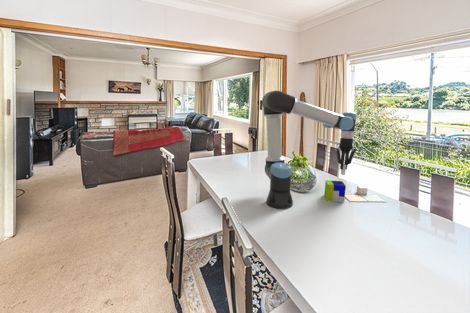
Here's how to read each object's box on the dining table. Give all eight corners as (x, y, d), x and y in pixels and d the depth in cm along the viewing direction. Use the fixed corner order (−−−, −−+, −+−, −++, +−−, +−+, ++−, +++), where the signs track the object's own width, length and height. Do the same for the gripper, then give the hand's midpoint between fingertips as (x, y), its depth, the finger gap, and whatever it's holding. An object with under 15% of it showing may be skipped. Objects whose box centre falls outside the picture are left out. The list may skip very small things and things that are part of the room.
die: (359, 194, 164) (360, 188, 164) (356, 192, 169) (357, 185, 168) (366, 194, 164) (367, 188, 163) (363, 192, 169) (364, 185, 168)
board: (349, 201, 152) (349, 201, 152) (342, 195, 163) (342, 194, 163) (386, 202, 152) (386, 201, 152) (376, 195, 163) (376, 195, 163)
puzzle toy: (344, 202, 152) (345, 186, 150) (326, 200, 154) (328, 185, 152) (340, 196, 162) (342, 181, 160) (324, 195, 164) (325, 180, 162)
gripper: (339, 138, 153) (334, 175, 158) (360, 138, 153) (355, 176, 158) (334, 136, 161) (330, 172, 165) (354, 137, 161) (350, 173, 165)
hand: (342, 174), depth 162 cm, fingers closed
